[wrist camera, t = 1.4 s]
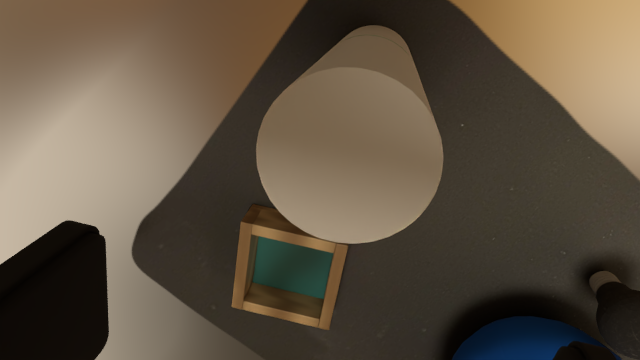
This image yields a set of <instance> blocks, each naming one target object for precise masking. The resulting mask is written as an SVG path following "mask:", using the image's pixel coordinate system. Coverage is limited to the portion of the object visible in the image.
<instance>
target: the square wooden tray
mask: <svg viewBox="0 0 640 360" xmlns="http://www.w3.org/2000/svg"><path fill="white" fill-rule="evenodd" d="M348 245H349V243H337V242H333V241H329V240H325V239H321V238H318V237H316V236H313V235H311V234H309V233H307V232H304V231H303V230H301V229H300V228H298V227H297V226H295V225H294V224H292V223H291V222H290V221H289V220H288V219H287V218H285V217H284V216H283V215H282V214H281V213H280V212H279V211H278V209H273V208H269V207H264V206H260V205H255V204H252V206H251V207H250V209H249V210H248V212H247V213H246V215H245V216H244V218H243V219H242V221H241V226H240V235H239V244H238V253H237V263H236V272H235V281H234V290H233V300H232V307H234V308H238V309H243V310H247V311H251V312H255V313H259V314H264V315H268V316H272V317H276V318H280V319H284V320H288V321H293V322H297V323H301V324H305V325H309V326H313V327H318V328H321V329H326V330H329V327H330V323H331V318H332V314H333V310H334V305H335V301H336V297H337V292H338V288H339V284H340V280H341V275H342V271H343V267H344V262H345V258H346V254H347V249H348Z"/></svg>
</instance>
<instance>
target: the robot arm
mask: <svg viewBox="0 0 640 360" xmlns="http://www.w3.org/2000/svg"><path fill="white" fill-rule="evenodd" d="M105 243H106V242H105V238H104V236H102V235H100V234H99V230H98V229H97V228H96V227H95V226H91V225H87V224H82V223H78V222H74V221H65V222H62V223H61V224H59V225H58V226H56V227H55V228H53V229H52V230H50V231H49V232H47V233H46V234H44V235H43V236H42V237H40V238H39V239H37V240H36V241H34V242H33V243H31V244H30V245H28V246H27V247H26V248H24V249H22V250H21V251H20V252H18V253H17V254H15V255H14V256H12V257H11V258H9V259H8V260H6V261H5V262H4V263H2V264H1V265H0V360H95V358H96V357H97V356H98V355H99V354H100V352H101V351H102V349H103V348H104V346H105V344H106V342H107V338H108V334H109V333H108V332H109V327H108V300H107V299H108V298H107V270H106V244H105ZM553 360H616V358H615V356H614V355H613V353H612V352H611V351H610V350H609V349H607V348H605V347H600V346H596V345H592V344H588V343H584V342H579V341H572V342H571V343H569V345H568V346H562V347H560V348H559V349H558V351H557V353H556V354H555V356H554V358H553Z"/></svg>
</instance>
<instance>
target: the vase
mask: <svg viewBox="0 0 640 360" xmlns="http://www.w3.org/2000/svg"><path fill="white" fill-rule="evenodd" d="M572 341H579V342H584V343H588V344H592V345H596V346H600V347H605V348H607V347H606V346H604V345H603V344H602V343H600V342H598V341H597V340H595V339H594V338H592V337H591V336H589V335H588V334H586V333H585V332H583V331H582V330H580V329H578V328H575V327H573V326H571V325H568V324H566V323H564V322H561V321H557V320H551V319H545V318H540V317H534V316H513V317H508V318H504V319H499V320H496V321H494V322H492V323H489V324H487V325H485V326H483V327H482V328H480V329H479V330H478V331H476V332H475V333H474V334H473V335H471V336H470V337H469V338H468V339H466V340H465V341H464V342H463V343H462V344H461V346H460V347H459V348H458V350H457V351H456V353H455V354H454V355H453V358H452V360H553V358H554V356H555V354H556V353H557V351H558V349H559V348H560V347H562V346H568V345H569V343H571V342H572ZM607 349H608V348H607ZM610 351H611V350H610ZM611 352H612V351H611ZM612 353H613V352H612ZM613 355H614V356H615V358H616V360H621V358H620V357H619V356H617V355H616V354H615V353H613Z"/></svg>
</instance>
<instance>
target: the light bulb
mask: <svg viewBox="0 0 640 360" xmlns="http://www.w3.org/2000/svg"><path fill="white" fill-rule="evenodd" d="M589 284H590V286H591V288H592V290H593V292H594V293H595V295H596V299H597V301H598V308H597V313H596V321H597V326H598V329H599V331H600V333H601V336H602V337H603V338H604V340H605V341H606V342H607V343H608V344H609V345H610V346H611V347H612V348H613V349H614V350H616V351H617V352H619V353H620V354H623V355H625V356H627V357H630V358H634V359H639V360H640V291H636V290H632V289H630V288H628V287H627V286H626V285H624V284H622V283H621V282H620V281H619V280H618V279H617V277H616V276H615V275H613V274H612V273H611V272H608V271H600V272H597V273H595V274H594V275H592V276H591V278H590V280H589Z"/></svg>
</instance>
